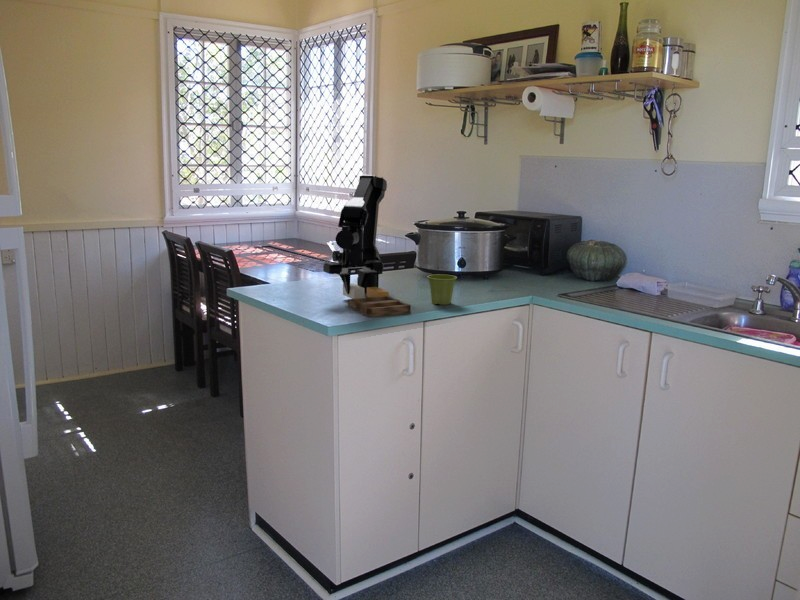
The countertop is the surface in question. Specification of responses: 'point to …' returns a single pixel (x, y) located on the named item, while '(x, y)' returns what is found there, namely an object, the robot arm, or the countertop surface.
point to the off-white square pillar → (354, 291)
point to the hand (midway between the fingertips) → (353, 293)
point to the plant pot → (441, 288)
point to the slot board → (379, 306)
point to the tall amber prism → (376, 292)
